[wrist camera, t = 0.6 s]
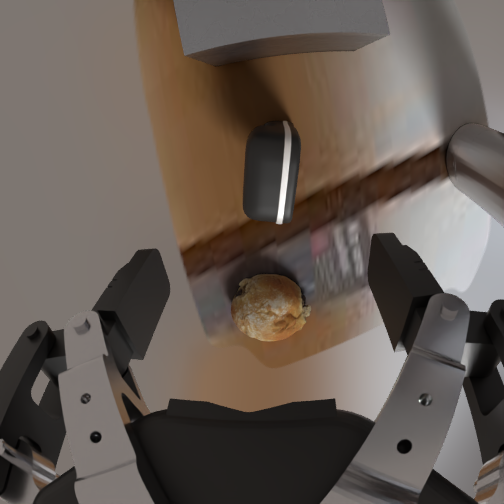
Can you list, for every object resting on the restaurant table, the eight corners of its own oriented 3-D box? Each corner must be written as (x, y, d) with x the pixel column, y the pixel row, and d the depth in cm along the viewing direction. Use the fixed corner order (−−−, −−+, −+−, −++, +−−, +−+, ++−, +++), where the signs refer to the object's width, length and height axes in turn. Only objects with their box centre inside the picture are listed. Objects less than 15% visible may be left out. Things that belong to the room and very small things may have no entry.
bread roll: (267, 249, 39) (237, 271, 32) (328, 294, 36) (310, 326, 30) (239, 297, 44) (209, 322, 37) (291, 337, 42) (269, 370, 35)
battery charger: (255, 116, 26) (242, 131, 16) (293, 120, 26) (303, 137, 16) (251, 180, 30) (237, 229, 20) (287, 183, 30) (290, 234, 20)
